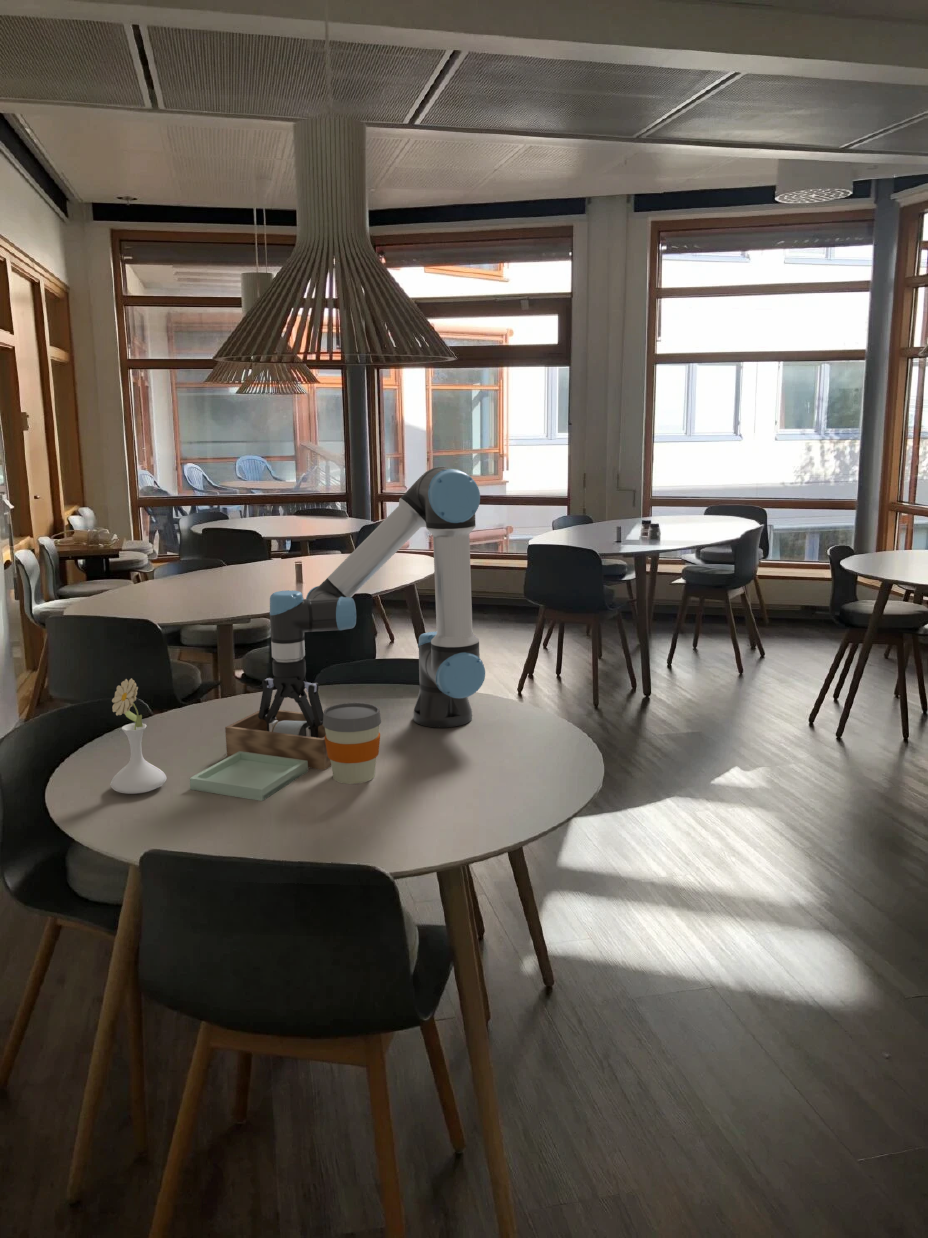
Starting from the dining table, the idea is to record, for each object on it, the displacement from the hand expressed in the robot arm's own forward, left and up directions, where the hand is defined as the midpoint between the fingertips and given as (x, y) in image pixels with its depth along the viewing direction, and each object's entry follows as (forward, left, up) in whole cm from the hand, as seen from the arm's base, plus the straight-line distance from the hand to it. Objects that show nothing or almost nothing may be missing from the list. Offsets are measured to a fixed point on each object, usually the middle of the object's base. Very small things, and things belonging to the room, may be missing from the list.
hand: (293, 750), depth 230 cm
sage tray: (-1, +19, 0) cm, 19 cm away
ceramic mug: (0, +1, -1) cm, 1 cm away
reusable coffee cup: (-21, +9, 0) cm, 23 cm away
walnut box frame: (0, 0, 0) cm, 0 cm away
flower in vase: (+18, +32, 0) cm, 37 cm away
